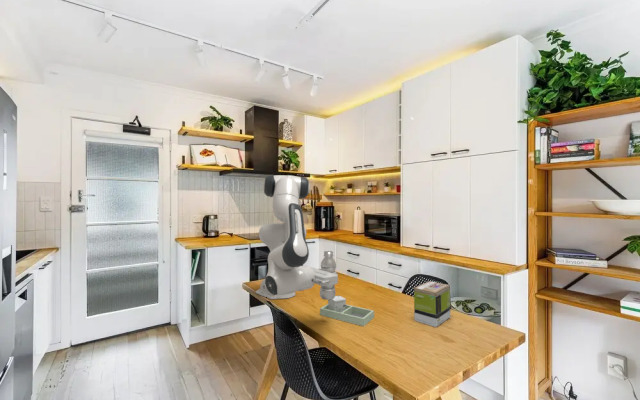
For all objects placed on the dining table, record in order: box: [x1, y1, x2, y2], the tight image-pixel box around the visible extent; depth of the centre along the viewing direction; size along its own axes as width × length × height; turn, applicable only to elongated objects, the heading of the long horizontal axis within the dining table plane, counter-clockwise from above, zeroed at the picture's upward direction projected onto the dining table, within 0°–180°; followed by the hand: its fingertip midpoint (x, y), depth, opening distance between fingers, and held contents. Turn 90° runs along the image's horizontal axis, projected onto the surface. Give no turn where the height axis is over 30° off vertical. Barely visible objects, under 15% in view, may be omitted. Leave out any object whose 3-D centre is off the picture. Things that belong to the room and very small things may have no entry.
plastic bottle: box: [319, 250, 337, 301], centre depth 125 cm, size 6×7×20 cm
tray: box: [319, 303, 375, 327], centre depth 132 cm, size 21×11×3 cm, turn 57°
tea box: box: [413, 280, 451, 328], centre depth 130 cm, size 15×10×15 cm, turn 134°
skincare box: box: [327, 295, 347, 313], centre depth 135 cm, size 6×6×7 cm
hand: (329, 272), depth 126 cm, fingers closed on plastic bottle, 6 cm apart
